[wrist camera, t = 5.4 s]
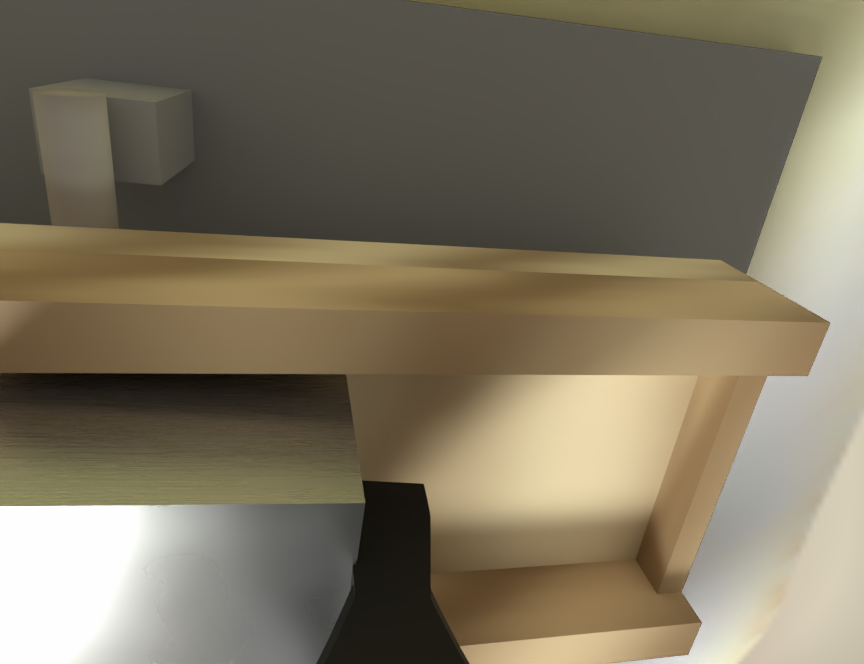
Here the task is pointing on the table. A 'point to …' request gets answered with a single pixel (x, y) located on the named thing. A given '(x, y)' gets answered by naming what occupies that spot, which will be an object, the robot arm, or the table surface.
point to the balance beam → (444, 386)
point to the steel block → (175, 517)
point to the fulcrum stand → (408, 124)
